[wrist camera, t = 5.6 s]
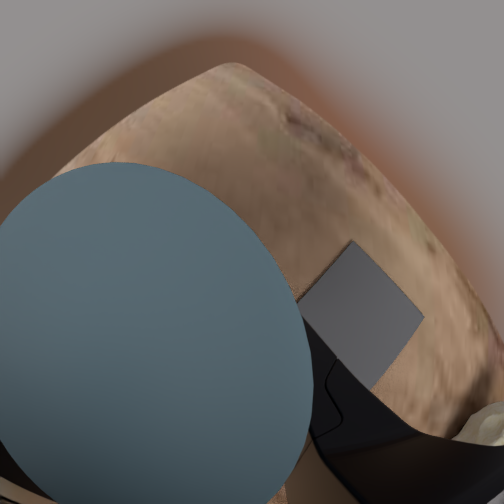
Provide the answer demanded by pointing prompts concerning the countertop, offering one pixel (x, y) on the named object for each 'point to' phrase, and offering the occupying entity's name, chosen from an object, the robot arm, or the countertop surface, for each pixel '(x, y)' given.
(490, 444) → the cream lumpy knobby chunk
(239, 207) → the countertop surface
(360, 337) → the mat
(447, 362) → the countertop surface
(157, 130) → the countertop surface
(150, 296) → the light blue cylinder
